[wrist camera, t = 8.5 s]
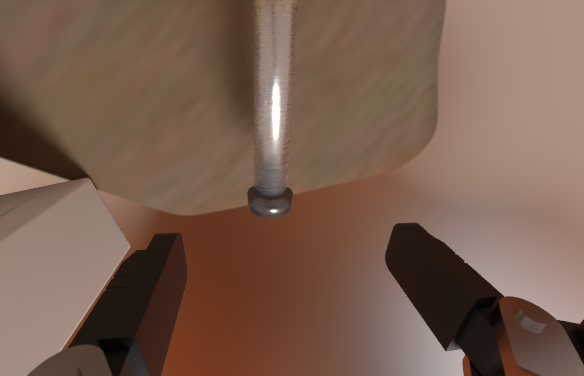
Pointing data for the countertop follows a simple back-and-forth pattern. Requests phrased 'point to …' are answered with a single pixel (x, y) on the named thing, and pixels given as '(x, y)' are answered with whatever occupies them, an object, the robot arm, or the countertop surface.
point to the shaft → (272, 105)
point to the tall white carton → (51, 267)
